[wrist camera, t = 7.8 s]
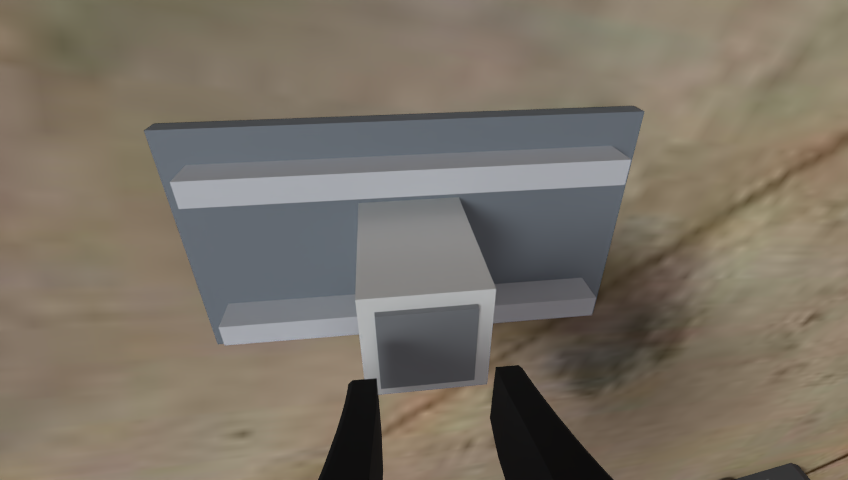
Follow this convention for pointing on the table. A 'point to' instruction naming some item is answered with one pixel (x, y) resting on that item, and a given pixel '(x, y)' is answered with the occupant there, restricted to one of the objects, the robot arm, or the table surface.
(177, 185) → the rail dock
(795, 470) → the walkie-talkie
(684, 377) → the table surface
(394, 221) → the block
